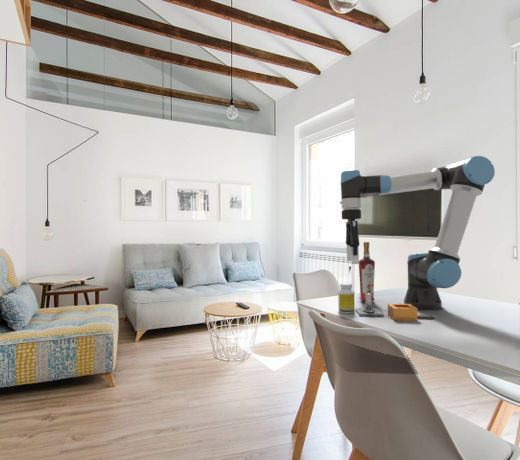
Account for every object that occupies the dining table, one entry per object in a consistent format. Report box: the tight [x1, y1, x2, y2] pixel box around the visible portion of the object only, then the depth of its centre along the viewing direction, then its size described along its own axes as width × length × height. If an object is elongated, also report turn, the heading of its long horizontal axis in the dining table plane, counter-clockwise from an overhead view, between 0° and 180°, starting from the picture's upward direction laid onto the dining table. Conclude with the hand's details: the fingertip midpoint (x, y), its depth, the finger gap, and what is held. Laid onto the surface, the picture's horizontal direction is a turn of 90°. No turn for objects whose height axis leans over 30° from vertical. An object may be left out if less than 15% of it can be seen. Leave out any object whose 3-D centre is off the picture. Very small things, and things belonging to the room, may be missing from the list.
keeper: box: [355, 293, 385, 318], centre depth 144 cm, size 11×9×8 cm
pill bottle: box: [337, 282, 356, 314], centre depth 147 cm, size 6×6×12 cm
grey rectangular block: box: [417, 314, 436, 320], centre depth 136 cm, size 6×2×1 cm, turn 84°
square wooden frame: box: [387, 303, 418, 322], centre depth 136 cm, size 8×8×4 cm
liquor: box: [358, 241, 376, 303], centre depth 168 cm, size 7×7×28 cm
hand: (352, 262), depth 143 cm, fingers open, 13 cm apart
